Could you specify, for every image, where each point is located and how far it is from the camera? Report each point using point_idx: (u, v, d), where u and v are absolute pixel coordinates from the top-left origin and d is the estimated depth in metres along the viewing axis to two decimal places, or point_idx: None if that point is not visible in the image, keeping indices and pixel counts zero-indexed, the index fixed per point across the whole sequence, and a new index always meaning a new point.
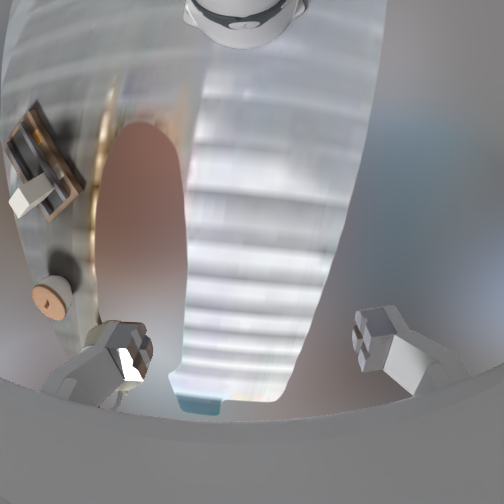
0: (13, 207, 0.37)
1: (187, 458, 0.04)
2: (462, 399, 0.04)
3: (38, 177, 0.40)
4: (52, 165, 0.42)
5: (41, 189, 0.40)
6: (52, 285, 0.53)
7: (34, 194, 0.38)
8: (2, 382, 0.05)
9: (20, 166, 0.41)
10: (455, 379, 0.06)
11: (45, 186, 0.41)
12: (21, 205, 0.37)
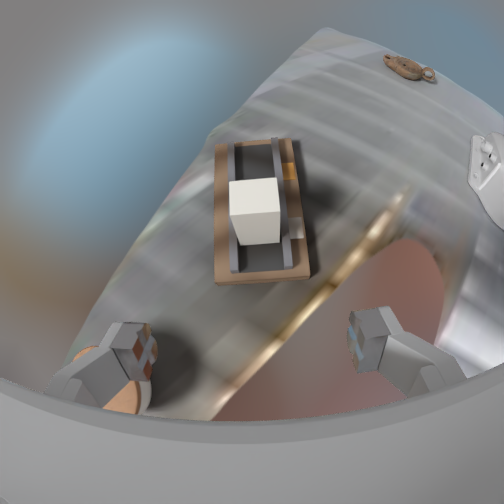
0: (233, 193, 0.29)
1: (187, 458, 0.04)
2: (462, 399, 0.04)
3: None
4: (290, 215, 0.38)
5: None
6: None
7: None
8: (2, 382, 0.05)
9: (235, 179, 0.39)
10: (449, 381, 0.06)
11: None
12: (258, 202, 0.28)
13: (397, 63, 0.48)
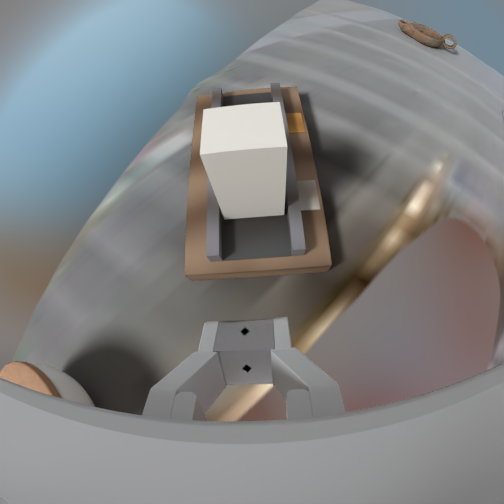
0: (209, 124, 0.16)
1: (187, 458, 0.04)
2: (462, 399, 0.04)
3: None
4: (299, 177, 0.25)
5: None
6: None
7: None
8: (2, 382, 0.05)
9: None
10: (319, 411, 0.06)
11: None
12: (249, 133, 0.16)
13: (414, 28, 0.35)
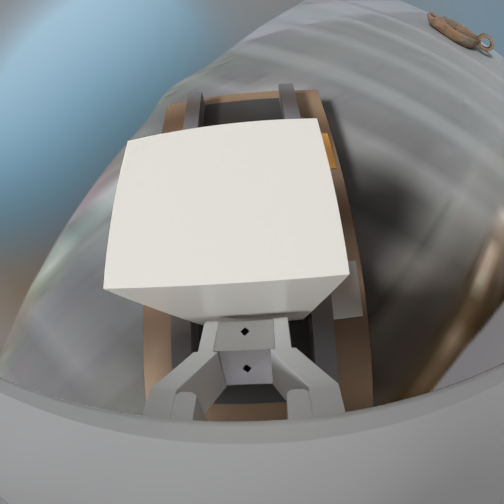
0: (133, 185, 0.06)
1: (187, 458, 0.04)
2: (462, 399, 0.04)
3: None
4: None
5: None
6: None
7: None
8: (2, 382, 0.05)
9: None
10: (319, 411, 0.06)
11: None
12: (237, 223, 0.06)
13: (446, 23, 0.25)
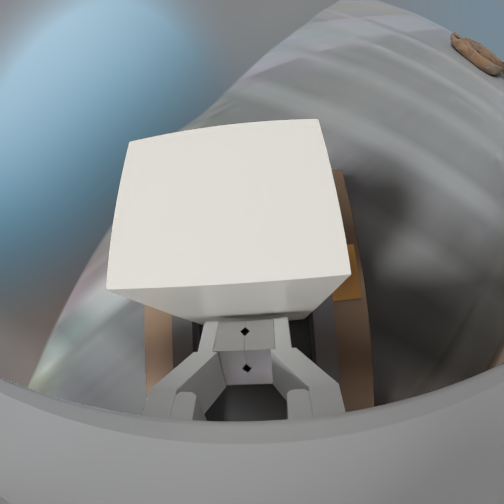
0: (135, 186, 0.06)
1: (187, 458, 0.04)
2: (462, 399, 0.04)
3: None
4: (344, 405, 0.12)
5: None
6: None
7: None
8: (2, 382, 0.05)
9: None
10: (320, 411, 0.06)
11: None
12: (239, 223, 0.06)
13: (471, 47, 0.23)
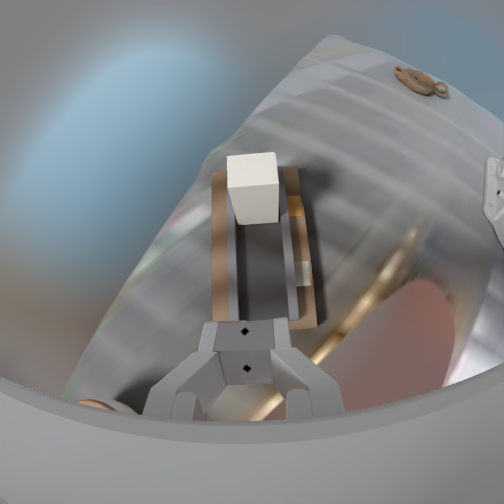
0: (231, 167, 0.28)
1: (187, 458, 0.04)
2: (462, 399, 0.04)
3: None
4: (296, 258, 0.34)
5: None
6: None
7: None
8: (2, 382, 0.05)
9: (235, 217, 0.35)
10: (319, 411, 0.06)
11: None
12: (256, 175, 0.27)
13: (408, 76, 0.45)
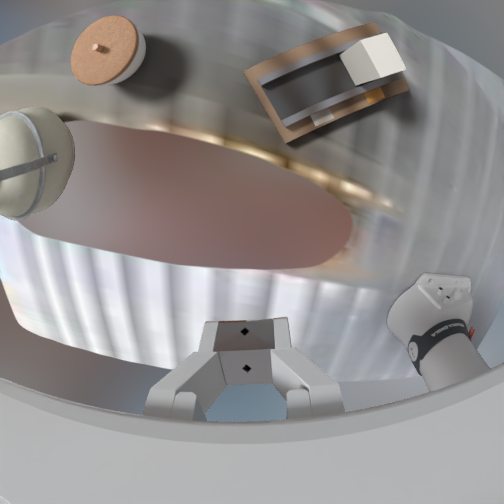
0: (378, 38, 0.22)
1: (187, 458, 0.04)
2: (462, 399, 0.04)
3: None
4: (332, 108, 0.35)
5: None
6: (135, 61, 0.28)
7: None
8: (2, 382, 0.05)
9: None
10: (319, 411, 0.06)
11: None
12: (380, 59, 0.23)
13: None
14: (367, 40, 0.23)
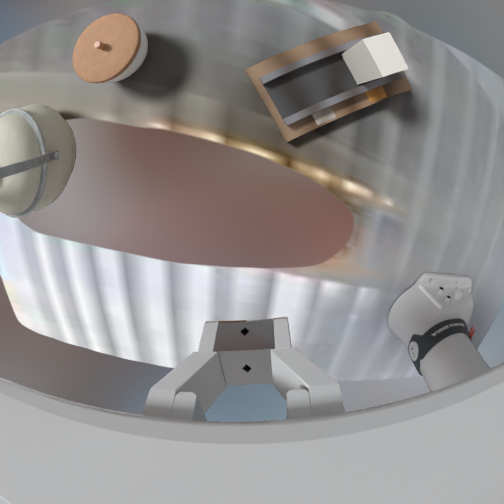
0: (381, 38, 0.22)
1: (187, 458, 0.04)
2: (462, 399, 0.04)
3: None
4: (334, 107, 0.34)
5: None
6: (137, 59, 0.28)
7: None
8: (2, 382, 0.05)
9: (346, 50, 0.30)
10: (319, 411, 0.06)
11: None
12: (382, 58, 0.23)
13: None
14: (369, 39, 0.22)
